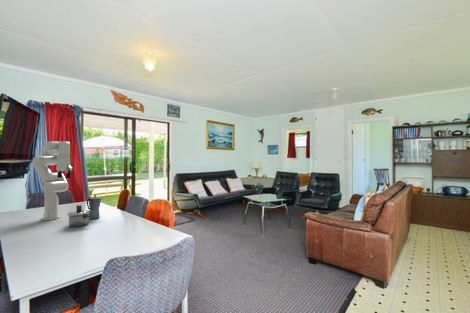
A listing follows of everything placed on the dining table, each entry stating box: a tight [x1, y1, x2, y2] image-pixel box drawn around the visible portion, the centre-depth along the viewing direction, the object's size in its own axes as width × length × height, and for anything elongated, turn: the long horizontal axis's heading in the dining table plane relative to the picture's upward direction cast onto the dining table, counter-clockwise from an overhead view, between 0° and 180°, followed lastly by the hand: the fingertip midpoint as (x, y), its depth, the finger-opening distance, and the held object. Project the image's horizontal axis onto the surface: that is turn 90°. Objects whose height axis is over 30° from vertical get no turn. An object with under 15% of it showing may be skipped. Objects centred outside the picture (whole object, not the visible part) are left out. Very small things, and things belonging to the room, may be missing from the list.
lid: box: [67, 204, 90, 217], centre depth 179 cm, size 14×14×6 cm
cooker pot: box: [67, 213, 91, 229], centre depth 179 cm, size 21×13×9 cm, turn 72°
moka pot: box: [86, 194, 102, 220], centre depth 200 cm, size 10×15×20 cm, turn 174°
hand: (63, 177), depth 186 cm, fingers open, 9 cm apart
